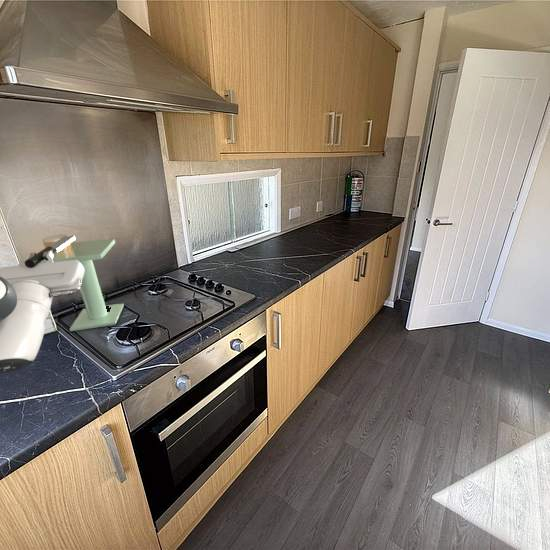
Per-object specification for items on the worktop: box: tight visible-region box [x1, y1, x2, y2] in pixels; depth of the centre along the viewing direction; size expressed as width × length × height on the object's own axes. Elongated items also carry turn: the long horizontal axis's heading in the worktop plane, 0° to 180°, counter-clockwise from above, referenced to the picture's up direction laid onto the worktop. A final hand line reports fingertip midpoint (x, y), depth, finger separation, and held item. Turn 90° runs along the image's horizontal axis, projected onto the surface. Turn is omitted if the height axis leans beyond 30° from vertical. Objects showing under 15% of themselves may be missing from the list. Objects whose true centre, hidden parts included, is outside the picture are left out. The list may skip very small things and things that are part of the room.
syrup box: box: [44, 310, 58, 336], centre depth 96 cm, size 6×6×14 cm
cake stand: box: [39, 233, 125, 332], centre depth 99 cm, size 18×18×30 cm
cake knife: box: [25, 235, 76, 268], centre depth 79 cm, size 25×3×2 cm, turn 15°
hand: (41, 253), depth 73 cm, fingers closed on cake knife, 2 cm apart
